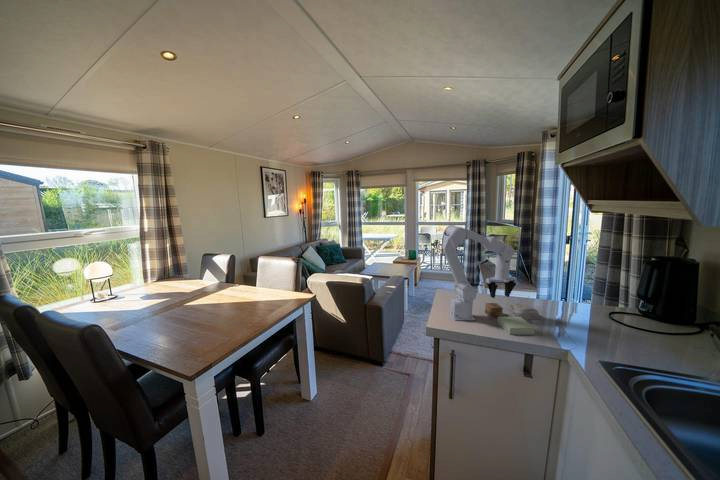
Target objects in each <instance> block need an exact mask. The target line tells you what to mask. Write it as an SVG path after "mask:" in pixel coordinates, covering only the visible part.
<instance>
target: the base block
mask: <svg viewBox="0 0 720 480" xmlns="http://www.w3.org/2000/svg"><path fill="white" fill-rule="evenodd" d="M497 324H498V325H499V326H500V327H501V328H502V329H503V330H504V331H505V332H506V333H508V335H509V336H510V335H511V336H512V335H513V336H514V335H518V336H521V335H522V336H523V335H527V336H528V335H532V336H533V335H535V329H536V328H535V326H533V325H532V324H531V323H529V322H528V321H527V320H525V319H523V318H521V317H516V316H502V317H498V318H497Z"/></svg>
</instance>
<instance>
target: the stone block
mask: <svg viewBox="0 0 720 480" xmlns="http://www.w3.org/2000/svg"><path fill="white" fill-rule="evenodd" d="M508 308H509V309H510V310H511V313H512V314H513V315H514V317H521V318H523V319H524V320H525V321H527V320H528V319H530V320H539V319H540V313H539V311H538V310H537V309H536V308H534V307H531V306H530V305H529V304H528V303H518V302H517V303H511V304H509V306H508ZM528 321H529V320H528Z"/></svg>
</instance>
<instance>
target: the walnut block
mask: <svg viewBox="0 0 720 480" xmlns="http://www.w3.org/2000/svg"><path fill="white" fill-rule="evenodd" d="M503 309H504V308H503V307H502V306H501V305H500V304H499V303H498V302H485V305H484V313H485V314H486V315H487V316H488V317H489V318H495V319H496V318H497V319H498V317H503Z"/></svg>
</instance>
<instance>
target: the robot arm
mask: <svg viewBox="0 0 720 480" xmlns="http://www.w3.org/2000/svg"><path fill="white" fill-rule="evenodd" d="M442 235H443V239H442V251H443V254H444V256H445V259H446V261H447V264H448V266H449V269H450V272H451V275H452V277H453V279H454V282H453V284H454V292H455V293H456V298H451V299H450V307H449V315H450V316H451V317H452V319H453V320H454V321H476V318H475V317H474V316H473V308H474V307H473V305H474V300H475V299H476V298H477V292H476V290H475V289H474V288H473V286H472V285H471V283H470V282H469V281H468V279H467V276H466V274H465V271H464V268H463V266H462V263H461V260H460V258H459V254H458V252H457V248H458V246H459V245H461V244H462V243H463V242H464V241H465V240H472V241H475V242H478V243H480V244H482V247H483V248H484V249H487V250H488V251H490V252H493V253H494V254H496V258H495V259H496V260H495V271H494V276H492V277H487V278H486V280H485V283H486V285H487V288H488V291H489V295H490V297H491V298H492V299H495V298H496V293H497V289H498V287H499V285H498V284H496V283H503V284H504V296H505V297H507V298H510V295H511V293H512V291H513V290H514V289H515V287H516V286H517V279H518V277H515V276H510V268H511V260H512V259H513V256H514V255H515V251H516V250H514V247H513V245H511V244H508V243H505V241H504V240H499V239H496V238H497V237H496V236H493V235H492V236H487V237H485V236H484V235H481V234H479V233H477V232H475V231H473V230H472V229H468V228H464V227H462V226H461V227H460V226H457V225H454V224H453V225H452V224H450V225H448V226H446V228H445V229H444V231H443V233H442Z"/></svg>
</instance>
